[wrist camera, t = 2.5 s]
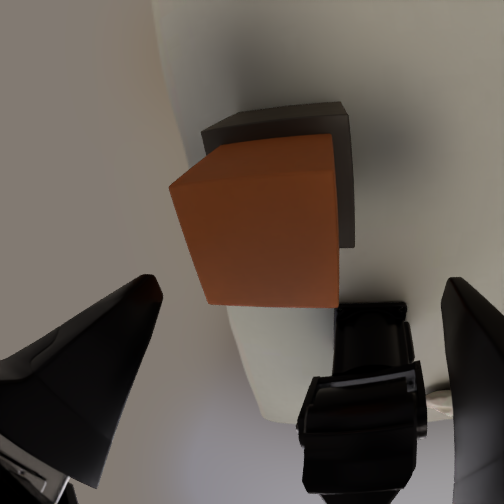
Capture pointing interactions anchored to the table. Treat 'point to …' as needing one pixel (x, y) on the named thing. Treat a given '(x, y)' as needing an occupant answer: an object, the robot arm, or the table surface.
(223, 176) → the toy cube
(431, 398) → the stone tool
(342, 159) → the block
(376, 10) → the table surface
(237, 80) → the table surface
